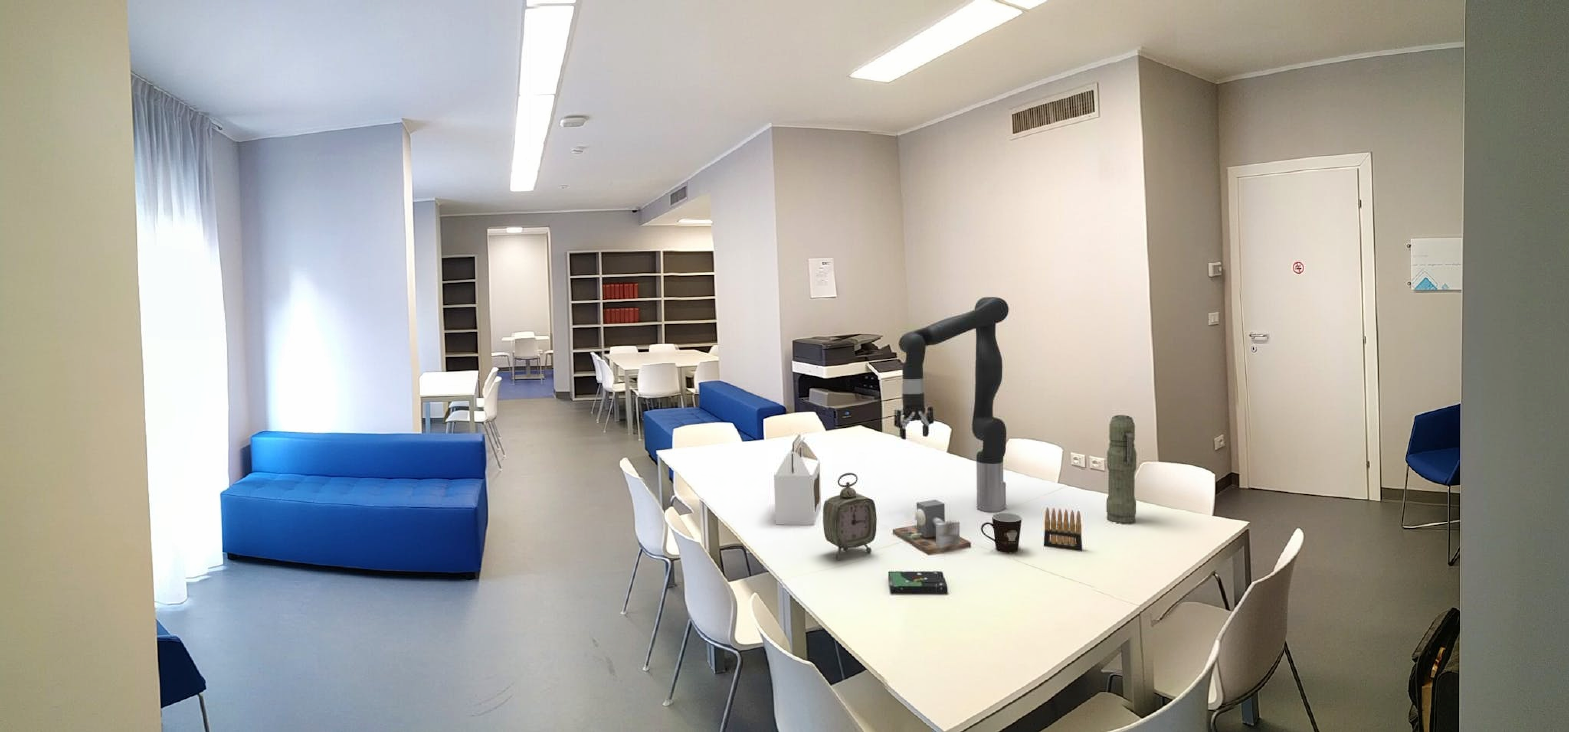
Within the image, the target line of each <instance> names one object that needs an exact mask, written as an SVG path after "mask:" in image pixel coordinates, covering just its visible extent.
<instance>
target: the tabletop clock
mask: <svg viewBox="0 0 1569 732" xmlns="http://www.w3.org/2000/svg"><path fill="white" fill-rule="evenodd" d="M846 476H847V477H848V476H854V478H855V481H854V482H852V483H850V482H849V481H847V482H846V483H845V484H841V483H840V481H841V479H842V478H843V477H846ZM857 483H858V476H857V474H855V473H853V472H845V473H843V474H842V475H840V476H839V477H838V479H837V485H838V486H839V487H841V488H842V489H841V491H840V493H839V494H837V495H834V496H830V497H829V498H827V499H826V500H825V501H824V503H823V506H822V507H823V509H822V524H823V525H822V527H823V534H824V537H825V540H826V541H827V542H828V543H830V544H832V545H833V546H836V547H837V548H838V550H837V551H838V554H837V555H836V557H835V558H836V560H838V561H840V560H841V559H842V555H841V553H842V552H841V551H843V552H845V553H847V552H848V551H849V549H854V548H858V547H862V546H864V547H865V548H866V553H868V554H870V553H871V552H872V547H868V544H870V543H872V542H873V541H874V540H875V538H876V534H877V521H878V518H877V508H876V505H875V500H874V499H872V498H869V497H867V496H864V495H863V494H860V493H857V491H856V489H854V488H853V486H855V485H856V484H857Z"/></svg>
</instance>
